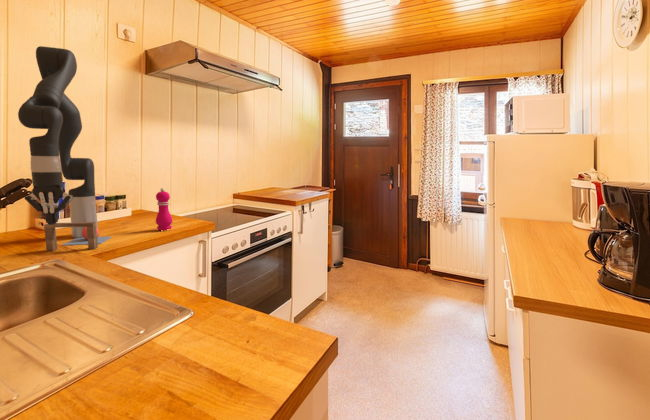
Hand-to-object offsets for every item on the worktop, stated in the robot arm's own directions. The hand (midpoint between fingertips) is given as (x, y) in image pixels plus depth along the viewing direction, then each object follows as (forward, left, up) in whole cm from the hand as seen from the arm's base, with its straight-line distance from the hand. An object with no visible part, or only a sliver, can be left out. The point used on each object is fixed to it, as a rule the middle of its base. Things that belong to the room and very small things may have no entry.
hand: (52, 224), depth 110 cm
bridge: (-13, 0, -12) cm, 17 cm away
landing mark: (-27, 0, -12) cm, 29 cm away
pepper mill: (-46, +25, -12) cm, 53 cm away
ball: (-29, 0, -9) cm, 30 cm away
